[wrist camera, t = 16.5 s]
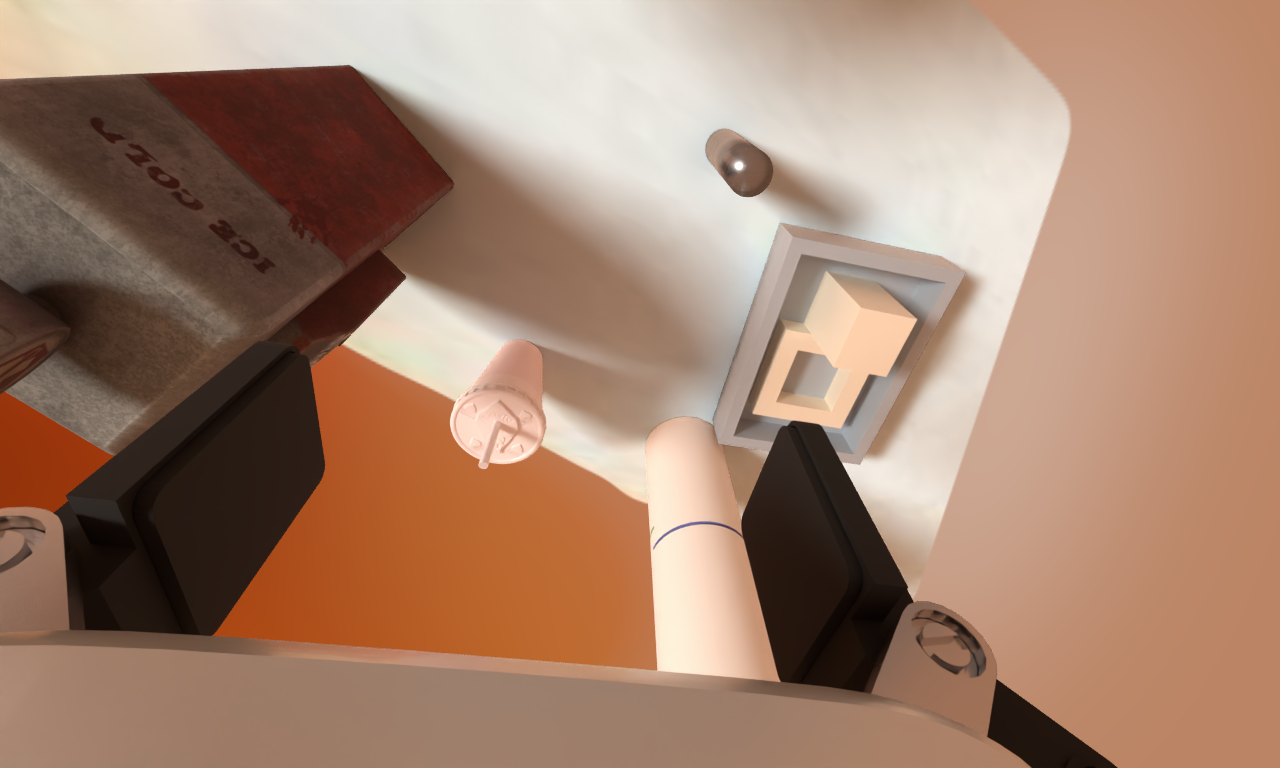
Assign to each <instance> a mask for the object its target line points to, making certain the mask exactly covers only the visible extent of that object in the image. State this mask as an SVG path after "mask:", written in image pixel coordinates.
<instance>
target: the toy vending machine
mask: <svg viewBox="0 0 1280 768" xmlns="http://www.w3.org/2000/svg"><path fill="white" fill-rule="evenodd" d="M453 186H454V183H453V181H452V180H451V178H450V177H449V176H448V175H447V174H446V173H445V172H444V170H443V169H442V168H441V167H440V166H439V165H438V164H437V163H436V161H435V160H434V159H433V158H432V157H431V156H430V155H429V153H428V152H427V151H426V150H425V149H424V148H423V147H422V145H421V144H420V143H419V142H418V141H417V140H416V139H415V137H414V136H413V135H412V134H411V133H410V132H409V131H408V129H407V128H406V127H405V126H404V125H403V124H402V123H401V122H400V120H399V119H398V118H397V117H396V116H395V115H394V114H393V112H392V111H391V110H390V109H389V108H388V107H387V106H386V104H385V103H384V102H383V101H382V100H381V99H380V98H379V96H378V95H377V94H376V93H375V92H374V91H373V90H372V88H371V87H370V86H369V85H368V84H367V83H366V82H365V81H364V79H363V78H362V77H361V76H360V75H359V74H358V73H357V71H356V70H355V69H354V68H353V67H351V66H349V65H344V66H319V67H294V68H270V69H245V70H220V71H196V72H171V73H146V74H121V75H97V76H72V77H47V78H23V79H0V394H1V393H3V392H4V391H5V392H7V393H9V394H10V395H12V396H14V397H15V398H17V399H19V400H20V401H22V402H24V403H25V404H27V405H29V406H30V407H32V408H34V409H35V410H37V411H39V412H40V413H42V414H44V415H45V416H47V417H49V418H50V419H52V420H54V421H55V422H57V423H59V424H60V425H62V426H64V427H65V428H67V429H69V430H70V431H72V432H74V433H75V434H77V435H79V436H80V437H82V438H84V439H85V440H87V441H89V442H90V443H92V444H94V445H95V446H97V447H99V448H100V449H102V450H104V451H106V452H107V453H109V454H112V455H117V454H118V453H119V452H120V451H122V450H123V449H124V448H125V447H127V446H128V445H129V444H130V443H131V442H133V441H134V440H135V439H136V438H138V437H139V436H140V435H141V434H143V433H144V432H145V431H146V430H148V429H149V428H150V427H151V426H153V425H154V424H155V423H156V422H158V421H159V420H160V419H161V418H163V417H164V416H165V415H166V414H167V413H169V412H170V411H171V410H172V409H174V408H175V407H176V406H177V405H179V404H180V403H181V402H182V401H184V400H185V399H186V398H187V397H189V396H190V395H191V394H192V393H194V392H195V391H196V390H197V389H199V388H200V387H201V386H202V385H203V384H205V383H206V382H207V381H208V380H210V379H211V378H212V377H213V376H215V375H216V374H217V373H218V372H220V371H221V370H222V369H223V368H225V367H226V366H227V365H228V364H230V363H231V362H232V361H233V360H235V359H236V358H237V357H238V356H239V355H241V354H242V353H243V352H244V351H246V350H247V349H248V348H249V347H251V346H252V345H253V344H254V343H256V342H258V341H268V342H274V343H281V344H288V345H294V346H296V347H297V348H298V349H299V351H300V354H302V355H306V356H307V357H308V359H309V362H310V368H311V367H312V366H313V365H315V364H316V363H317V362H318V361H319V360H321V359H322V358H323V357H324V356H325V355H327V354H328V353H329V352H330V351H331V350H333V349H334V348H335V347H336V346H337V345H338V346H340V345H341V344H343V343H344V342H345V341H346V340H347V339H348V338H349V337H350V336H351V334H352V333H353V332H354V331H355V330H356V329H357V328H358V327H359V326H360V325H361V324H362V323H363V322H364V321H365V320H366V319H367V318H368V317H369V316H370V315H371V314H372V313H373V312H374V311H375V310H376V309H377V308H378V307H379V306H380V305H381V304H382V303H383V301H384V300H385V299H386V298H387V297H388V296H389V295H390V294H391V293H392V292H393V291H394V290H395V289H396V288H397V287H398V286H399V285H400V284H401V283H402V282H403V281H404V280H405V279H406V276H405V275H404V274H403V273H402V272H401V271H400V270H399V269H398V268H397V267H396V266H395V265H394V264H393V263H392V262H391V261H390V260H389V259H388V258H387V257H386V256H385V255H384V254H383V253H382V252H381V250H382V249H384V248H385V247H386V246H387V245H388V244H389V243H390V242H392V241H393V240H394V239H395V238H396V237H397V236H398V235H399V234H401V233H402V232H403V231H404V230H405V229H406V228H407V227H409V226H410V225H411V224H412V223H413V222H414V221H415V220H417V219H418V218H419V217H420V216H421V215H422V214H423V213H425V212H426V211H427V210H428V209H429V208H430V207H431V206H433V205H434V204H435V203H436V202H437V201H438V200H439V199H441V198H442V197H443V196H444V195H445V194H446V193H447V192H448V191H450V190H451V189H452V188H453Z"/></svg>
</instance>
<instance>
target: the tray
mask: <svg viewBox="0 0 1280 768" xmlns="http://www.w3.org/2000/svg"><path fill="white" fill-rule="evenodd" d="M826 270H827V271H832V272H836V273H841V274H846V275H850V276H855V277H860V278H865V279H869V280H874V281H875V282H876V283H878V284H879V285H880V286H881V287H882V288H883V289H884V290H885V291H886V292H888V293H889V294H890V295H891V296H892V297H893V298H894V299H895V300H896V301H898V302H899V303H900V304H901V305H902V306H903V307H904V308H905V309H906V310H908V311H909V312H910V313H911V314H912V315H913V316H914V317H915V318H916V319H917V321H916V323H915V325H914V327H913V329H912V330H911V332H910V334H909V336H908V338H907V340H906V341H905V343H904V345H903V347H902V349H901V351H900V353H899V354H898V356H897V358H896V360H895V362H894V364H893V366H892V367H891V369H890V371H889V373H888V375H887V377H883V376H878V375H873V374H869V375H868V377H867V379H866V381H865V383H864V385H863V387H862V389H861V391H860V393H859V395H858V397H857V398H856V400H855V402H854V404H853V406H852V408H851V410H850V412H849V414H848V416H847V418H846V420H845V422H844V423H843V425H842V427H841V429H840V428H834V427H828V426H822V425H821V426H822V427H823V429H824V431H825V433H826V434H827V436H828V438H829V440H830V442H831V444H832V446H833V448H834V449H835V451H836V453H837V455H838V457H839V459H840V461H841V462H845V463H852V464H858V465H860V464H861V462H862V460H863V458H864V456H865V455H866V453H867V451H868V449H869V447H870V446H871V444H872V442H873V440H874V438H875V437H876V435H877V433H878V431H879V429H880V427H881V426H882V424H883V422H884V420H885V418H886V417H887V415H888V413H889V411H890V409H891V408H892V406H893V404H894V402H895V400H896V398H897V397H898V395H899V393H900V391H901V389H902V388H903V386H904V384H905V382H906V380H907V379H908V377H909V375H910V373H911V371H912V370H913V368H914V366H915V364H916V362H917V360H918V359H919V357H920V355H921V353H922V351H923V350H924V348H925V346H926V344H927V342H928V341H929V339H930V337H931V335H932V333H933V331H934V330H935V328H936V326H937V324H938V322H939V321H940V319H941V317H942V315H943V313H944V312H945V310H946V308H947V306H948V304H949V302H950V301H951V299H952V297H953V295H954V293H955V292H956V290H957V288H958V286H959V284H960V283H961V281H962V279H963V277H964V275H965V274H966V272H965V271H963V270H962V269H960V268H958V267H957V266H955V265H954V264H952V263H951V262H949V261H947V260H946V259H944V258H943V257H941V256H937V255H932V254H927V253H923V252H918V251H913V250H908V249H903V248H899V247H894V246H889V245H884V244H879V243H875V242H870V241H865V240H860V239H855V238H851V237H846V236H841V235H836V234H832V233H827V232H822V231H817V230H812V229H808V228H803V227H798V226H793V225H788V224H784V223H780V224H779V226H778V229H777V232H776V235H775V238H774V241H773V244H772V247H771V250H770V253H769V256H768V259H767V262H766V264H765V267H764V270H763V273H762V276H761V279H760V282H759V285H758V288H757V291H756V294H755V297H754V300H753V303H752V305H751V308H750V311H749V314H748V317H747V320H746V323H745V326H744V329H743V332H742V335H741V338H740V341H739V344H738V346H737V349H736V352H735V355H734V358H733V361H732V364H731V367H730V370H729V373H728V376H727V379H726V382H725V384H724V387H723V390H722V393H721V396H720V399H719V402H718V405H717V408H716V411H715V414H714V417H713V424H714V428H715V432H716V436H717V440H718V444H724V445H730V446H737V447H744V448H751V449H757V450H764V451H770V450H771V447H772V445H773V443H774V440H775V438H776V436H777V433H778V431H779V429H780V428H781V427H782V426H788V424H789V423H790V422H791V421H792V420H786V419H780V418H775V417H769V416H763V415H757V414H753V413H752V410H751V407H750V405H749V402H748V400H749V397H750V394H751V392H752V389H753V387H754V384H755V382H756V379H757V377H758V374H759V371H760V369H761V366H762V364H763V361H764V359H765V356H766V354H767V351H768V348H769V346H770V343H771V341H772V338H773V336H774V333H775V331H776V328H777V325H778V323H779V320H780V319H785V320H790V321H795V322H800V323H804V321H805V319H806V316H807V314H808V312H809V309H810V307H811V305H812V302H813V300H814V297H815V295H816V293H817V290H818V288H819V285H820V283H821V281H822V278H823V276H824V273H825V271H826ZM838 369H839V368H835V367H833V366H832V365H831V363H830V362H829V360H828V359H827V357H826V356H825V355H821V354H815V353H810V352H805V351H800V350H798V351H797V354H796V356H795V358H794V361H793V363H792V365H791V368H790V370H789V372H788V375H787V377H786V380H785V382H784V384H783V387H782V389H781V391H783V392H788V393H794V394H800V395H805V396H811V397H817V398H823V399H824V398H825V396H826V393H827V391H828V389H829V387H830V385H831V383H832V381H833V379H834V377H835V375H836V373H837V371H838Z"/></svg>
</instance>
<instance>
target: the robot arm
mask: <svg viewBox="0 0 1280 768" xmlns="http://www.w3.org/2000/svg"><path fill="white" fill-rule="evenodd" d="M324 469H325V460H324V454H323V447H322V440H321V434H320V428H319V421H318V414H317V407H316V401H315V394H314V388H313V382H312V374H311V368H310V362H309V359H308V357H307V356H306V355H302V354H300V351H299V349H298V348H297V347H296V346H294V345H288V344H281V343H274V342H268V341H258V342H256V343H254V344H253V345H252V346H251V347H249V348H248V349H247V350H246V351H244V352H243V353H242V354H241V355H239V356H238V357H237V358H236V359H235V360H233V361H232V362H231V363H230V364H228V365H227V366H226V367H225V368H223V369H222V370H221V371H220V372H218V373H217V374H216V375H215V376H213V377H212V378H211V379H210V380H208V381H207V382H206V383H205V384H203V385H202V386H201V387H200V388H199V389H197V390H196V391H195V392H194V393H192V394H191V395H190V396H189V397H187V398H186V399H185V400H184V401H182V402H181V403H180V404H179V405H177V406H176V407H175V408H174V409H172V410H171V411H170V412H169V413H167V414H166V415H165V416H164V417H163V418H161V419H160V420H159V421H158V422H156V423H155V424H154V425H153V426H151V427H150V428H149V429H148V430H146V431H145V432H144V433H143V434H141V435H140V436H139V437H138V438H136V439H135V440H134V441H133V442H131V443H130V444H129V445H128V446H127V447H125V448H124V449H123V450H122V451H120V452H119V453H118V454H117V455H115V456H114V457H113V458H112V459H110V460H109V461H108V462H107V463H105V464H104V465H103V466H102V467H101V468H99V469H98V470H97V471H96V472H94V473H93V474H92V475H91V476H89V477H88V478H87V479H86V480H84V481H83V482H82V483H81V484H79V485H78V486H77V487H76V488H74V489H73V490H72V491H71V492H69V493H68V494H67V495H66V497H67V499H68V502H66V503H65V504H64V505H63V506H62V507H60V508H59V509H58V510H57V511H56V512H54V513H51V512H50V511H48V510H45V509H39V508H33V507H13V508H3V509H0V768H1117V767H1116V766H1115V765H1114V764H1112V763H1111V762H1110V761H1109V760H1107V759H1106V758H1104V757H1103V756H1102V755H1100V754H1099V753H1098V752H1096V751H1095V750H1093V749H1092V748H1091V747H1089V746H1088V745H1086V744H1085V743H1084V742H1082V741H1081V740H1079V739H1078V738H1077V737H1075V736H1074V735H1073V734H1071V733H1070V732H1069V731H1067V730H1066V729H1064V728H1063V727H1062V726H1060V725H1059V724H1058V723H1056V722H1055V721H1053V720H1052V719H1051V718H1049V717H1048V716H1046V715H1045V714H1044V713H1042V712H1041V711H1040V710H1038V709H1037V708H1036V707H1034V706H1033V705H1031V704H1030V703H1029V702H1027V701H1026V700H1025V699H1023V698H1022V697H1020V696H1019V695H1018V694H1016V693H1015V692H1014V691H1012V690H1011V689H1009V688H1008V687H1007V686H1005V685H1004V684H1003V683H1001V682H1000V681H998V680H997V679H996V678H997V664H996V660H995V657H994V655H993V653H992V650H991V648H990V647H989V645H988V644H987V642H986V641H985V639H984V638H983V636H982V635H981V634H980V633H979V632H978V631H977V630H976V629H975V628H974V627H973V626H972V625H971V624H970V623H969V622H968V621H966V620H965V619H964V618H962V617H961V616H960V615H958V614H957V613H955V612H954V611H952V610H950V609H947V608H946V607H944V606H942V605H939V604H935V603H932V602H926V601H917V602H913V600H912V598H911V596H910V594H909V592H908V590H907V588H908V586H907V584H906V582H905V580H904V579H903V577H902V575H901V573H900V571H899V569H898V567H897V565H896V564H895V562H894V560H893V558H892V556H891V554H890V552H889V550H888V549H887V547H886V545H885V543H884V541H883V539H882V537H881V536H880V534H879V532H878V530H877V528H876V526H875V524H874V522H873V521H872V519H871V517H870V515H869V513H868V511H867V509H866V507H865V506H864V504H863V502H862V500H861V498H860V496H859V494H858V492H857V491H856V489H855V487H854V485H853V483H852V481H851V479H850V477H849V476H848V474H847V472H846V470H845V468H844V466H843V464H842V462H841V461H840V459H839V457H838V455H837V453H836V451H835V449H834V448H833V446H832V444H831V442H830V440H829V438H828V436H827V434H826V433H825V431H824V429H823V427H822V426H821V425H819V424H816V423H809V422H802V421H795V420H794V421H791V422H790V423H789V424H788V426H782V427H781V428H780V429H779V431H778V433H777V436H776V438H775V440H774V443H773V445H772V447H771V450H770V452H769V454H768V457H767V459H766V461H765V464H764V466H763V468H762V471H761V473H760V476H759V478H758V480H757V483H756V485H755V487H754V490H753V492H752V494H751V497H750V499H749V501H748V504H747V506H746V508H745V511H744V513H743V516H742V521H741V530H742V535H743V539H744V543H745V547H746V551H747V555H748V559H749V563H750V567H751V571H752V575H753V579H754V583H755V587H756V591H757V595H758V599H759V602H760V606H761V610H762V614H763V618H764V622H765V626H766V630H767V634H768V638H769V642H770V646H771V650H772V654H773V658H774V662H775V666H776V670H777V674H778V677H779V680H780V681H781V682H776V681H766V680H756V679H747V678H736V677H725V676H713V675H701V674H690V673H678V672H666V671H655V670H643V669H631V668H620V667H607V666H596V665H583V664H572V663H559V662H547V661H535V660H522V659H509V658H498V657H485V656H473V655H460V654H446V653H435V652H421V651H410V650H396V649H383V648H370V647H369V648H368V647H356V646H343V645H329V644H317V643H303V642H290V641H277V640H263V639H249V638H235V637H218V636H212V635H213V634H214V633H215V632H216V631H217V630H218V628H219V627H220V626H221V624H222V623H223V621H224V620H225V618H226V617H227V615H228V614H229V613H230V611H231V610H232V608H233V607H234V605H235V604H236V602H237V601H238V599H239V598H240V597H241V595H242V594H243V592H244V591H245V589H246V588H247V586H248V585H249V584H250V582H251V581H252V579H253V578H254V576H255V575H256V574H257V572H258V571H259V569H260V568H261V566H262V565H263V563H264V562H265V561H266V559H267V558H268V556H269V555H270V553H271V552H272V550H273V549H274V548H275V546H276V545H277V543H278V542H279V540H280V539H281V538H282V536H283V535H284V533H285V532H286V530H287V529H288V527H289V526H290V525H291V523H292V522H293V520H294V519H295V517H296V516H297V514H298V513H299V512H300V510H301V508H302V507H303V506H304V504H305V503H306V501H307V500H308V499H309V497H310V496H311V494H312V493H313V491H314V490H315V489H316V487H317V486H318V484H319V483H320V481H321V479H322V477H323V474H324Z"/></svg>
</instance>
